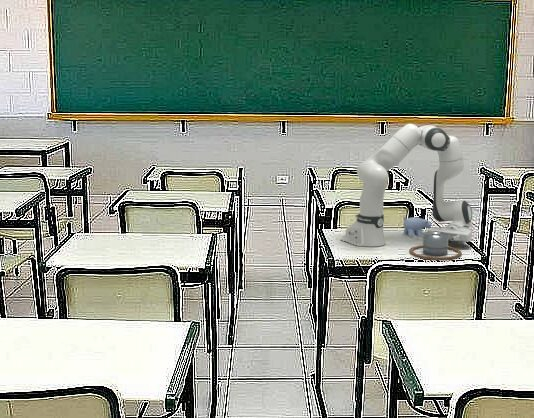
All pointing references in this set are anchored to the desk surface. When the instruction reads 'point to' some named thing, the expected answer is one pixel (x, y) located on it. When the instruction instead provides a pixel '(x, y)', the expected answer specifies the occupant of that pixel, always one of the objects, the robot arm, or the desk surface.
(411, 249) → the locating ring
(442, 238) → the metal cover
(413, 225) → the hippopotamus toy
